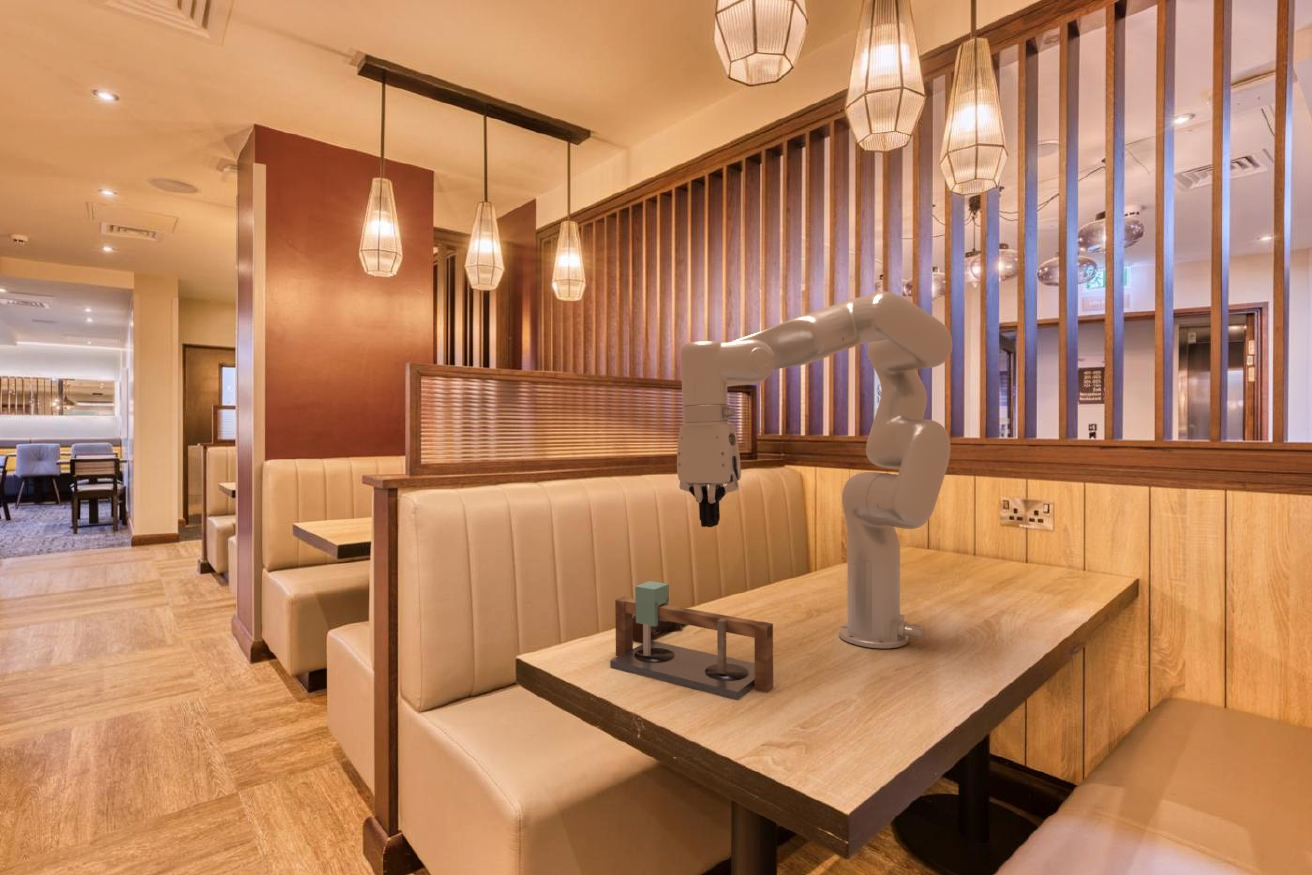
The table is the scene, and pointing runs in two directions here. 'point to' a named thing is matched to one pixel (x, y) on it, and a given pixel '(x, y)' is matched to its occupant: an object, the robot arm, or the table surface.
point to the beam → (710, 621)
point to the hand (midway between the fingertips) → (709, 525)
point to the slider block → (649, 608)
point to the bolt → (652, 629)
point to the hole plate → (689, 669)
